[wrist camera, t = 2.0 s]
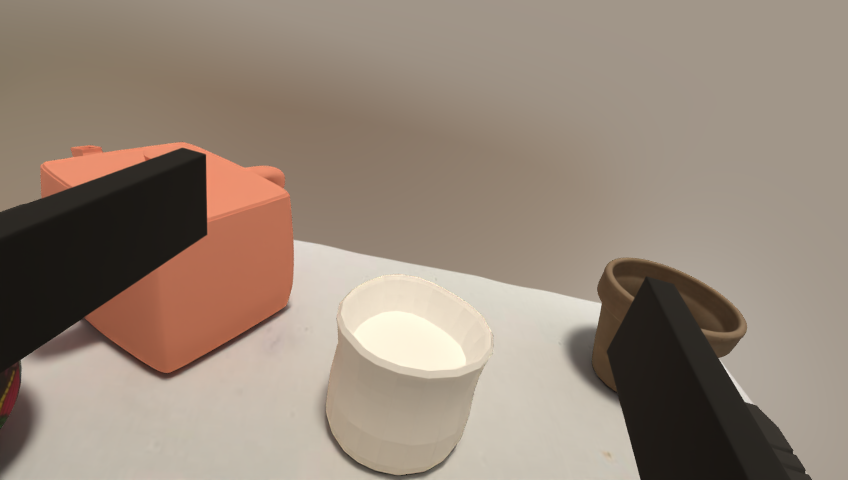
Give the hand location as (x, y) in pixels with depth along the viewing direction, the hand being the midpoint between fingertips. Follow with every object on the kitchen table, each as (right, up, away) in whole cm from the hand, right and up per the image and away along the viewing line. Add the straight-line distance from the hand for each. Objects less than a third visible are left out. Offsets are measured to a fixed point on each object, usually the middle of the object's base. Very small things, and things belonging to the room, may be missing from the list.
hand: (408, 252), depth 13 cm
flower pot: (+20, -13, +30) cm, 38 cm away
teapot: (-23, -4, +27) cm, 35 cm away
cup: (-2, -13, +20) cm, 24 cm away
